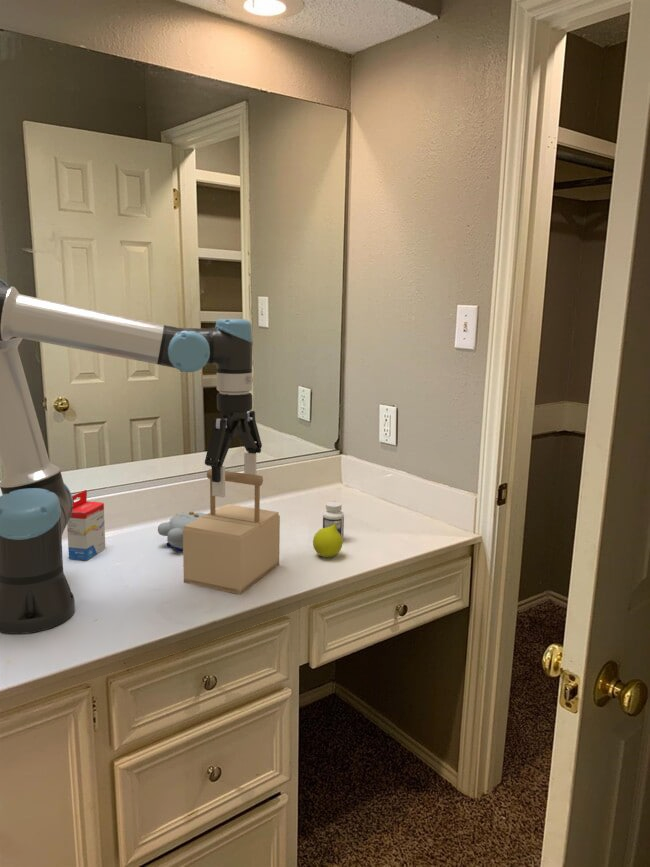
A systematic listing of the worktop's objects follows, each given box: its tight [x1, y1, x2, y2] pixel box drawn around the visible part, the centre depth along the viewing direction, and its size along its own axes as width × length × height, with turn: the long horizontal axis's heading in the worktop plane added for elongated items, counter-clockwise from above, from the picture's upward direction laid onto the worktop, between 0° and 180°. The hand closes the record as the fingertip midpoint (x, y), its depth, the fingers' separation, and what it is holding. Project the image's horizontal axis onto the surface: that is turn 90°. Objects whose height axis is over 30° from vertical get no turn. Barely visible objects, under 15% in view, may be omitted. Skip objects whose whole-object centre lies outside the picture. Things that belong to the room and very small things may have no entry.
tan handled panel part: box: [206, 468, 279, 526], centre depth 147 cm, size 9×14×11 cm
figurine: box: [157, 511, 208, 553], centre depth 164 cm, size 17×8×20 cm
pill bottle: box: [322, 501, 345, 542], centre depth 169 cm, size 5×5×10 cm
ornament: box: [312, 521, 343, 558], centre depth 158 cm, size 7×7×10 cm
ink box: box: [66, 489, 106, 561], centre depth 155 cm, size 8×5×15 cm, turn 168°
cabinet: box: [182, 515, 281, 595], centre depth 146 cm, size 18×14×13 cm
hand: (235, 488), depth 144 cm, fingers open, 13 cm apart
